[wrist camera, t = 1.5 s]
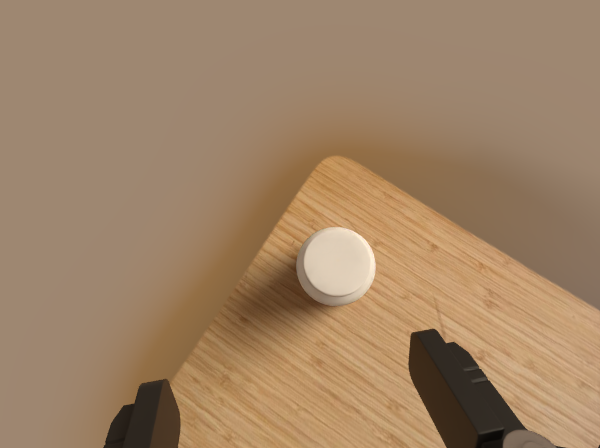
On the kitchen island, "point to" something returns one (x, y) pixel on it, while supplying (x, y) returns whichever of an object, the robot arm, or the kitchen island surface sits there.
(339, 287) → the pill bottle
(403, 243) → the kitchen island surface
